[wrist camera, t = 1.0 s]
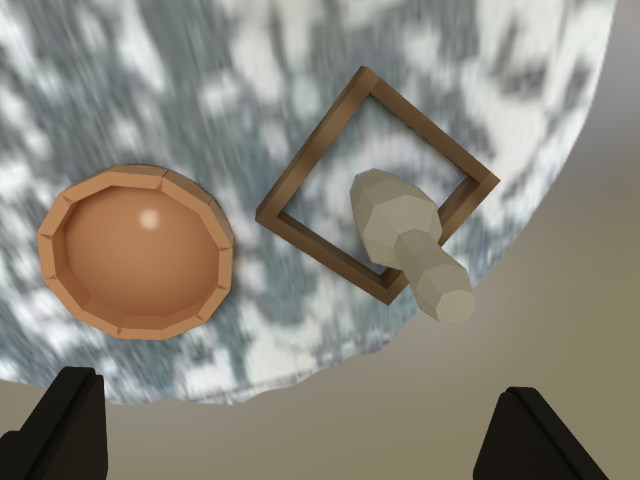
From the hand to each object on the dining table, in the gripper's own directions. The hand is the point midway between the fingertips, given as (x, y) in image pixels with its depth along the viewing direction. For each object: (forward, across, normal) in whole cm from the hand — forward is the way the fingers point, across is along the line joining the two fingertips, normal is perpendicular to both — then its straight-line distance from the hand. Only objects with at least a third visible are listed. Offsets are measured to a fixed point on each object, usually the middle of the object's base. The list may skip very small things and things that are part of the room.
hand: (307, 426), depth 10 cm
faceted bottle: (+35, -10, +3) cm, 36 cm away
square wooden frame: (+34, -10, +3) cm, 36 cm away
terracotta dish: (+34, +12, +11) cm, 38 cm away
